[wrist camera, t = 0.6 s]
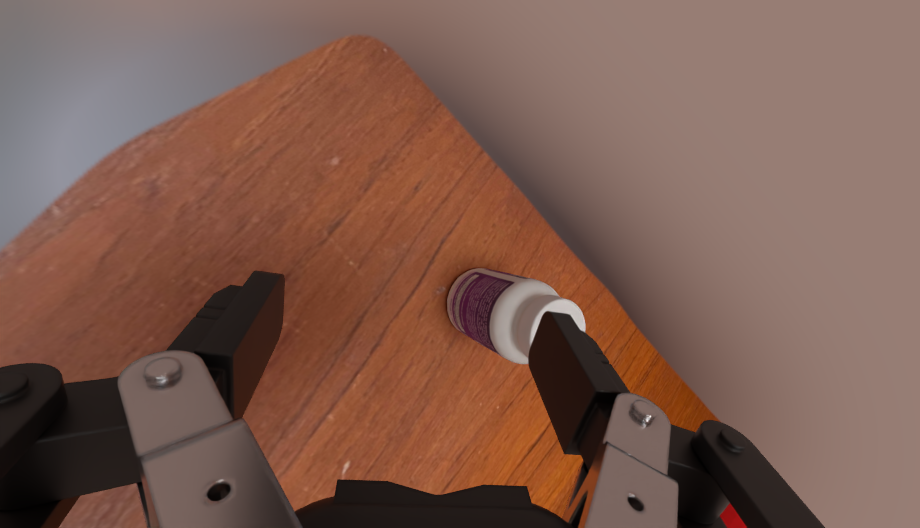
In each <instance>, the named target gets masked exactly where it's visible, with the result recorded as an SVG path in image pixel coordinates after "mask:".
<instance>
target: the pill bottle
mask: <svg viewBox="0 0 920 528" xmlns="http://www.w3.org/2000/svg"><path fill="white" fill-rule="evenodd" d="M447 311H448V315H449V318H450V321H451V323H452V324H453V325H454V327H455V328H456V329H457V330H459V331H460V332H462V333H463V334H465V335H466V336H468V337H470V338H472V339H473V340H475V341H476V342H478V343H480V344H481V345H483V346H485V347H487V348H488V349H490V350H492V351H493V352H495V353H497V354H499V355H500V356H502V357H504V358H505V359H507V360H509V361H512V362H514V363H518V364H529V363H528V355H529V350H530V347H531V344H532V341H533V339H534V336H535V333H536V331H537V328H538V326H539V323H540V320H541V318H542V315H543V314H544V313H545V312H546V311H551V312H558V313H566V314H570V315H571V317H572V318H573V320H574V321H575V323H576V324H577V326H578V327H579V329H580V330H581V331H584V332H585V319H584V316H583V313H582V311H581V310H580V308H579V307H578V306H577V305H576V304H575V303H574V302H572V301H570V300H568V299H564V298H561V297H559V295H558V294H557V293H556V291H555V290H554V289H553V288H552V287H550V286H549V285H547V284H546V283H544V282H541V281H538V280H535V279H531V278H526V277H522V276H518V275H513V274H509V273H504V272H500V271H495V270H490V269H484V268H476V269H472V270H469V271H467V272H465V273H464V274H462V275H461V276H460V277H458V278H457V280H456V281H455V282H454V284H453V285H452V287H451V289H450V292H449V295H448V298H447Z"/></svg>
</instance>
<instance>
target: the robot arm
mask: <svg viewBox="0 0 920 528" xmlns="http://www.w3.org/2000/svg"><path fill="white" fill-rule="evenodd" d="M284 286H285V278H284V275H283V274H278V273H271V272H263V271H254V272H253V273H252V274H251V276H250V277H249V278H248V280H247V281H246V282H245V284H244V285H243V286H235V285H230V286H228V287H226V288H224V289H222V290H220V291H218V292H216V293H214V294H213V296H212V297H211V298H210V299H209V300H208V301H207V303H206V304H205V305H204V308H202V309H201V310H200V311H199V312H198V313H197V314H196V317H194V318H193V319H192V320H191V321H190V323H189V324H188V325H187V326H186V327H185V329H184V330H183V331H182V332H181V333H180V334H179V336H178V337H177V338H176V339H175V340H174V341H173V343H172V344H171V345H170V346H169V347H168V349H167V350H166V351H162V352H157V353H153V354H150V355H147V356H145V357H142V358H140V359H138V360H136V361H134V362H133V363H131V364H130V365H128V366H127V367H126V368H125V369H124V370H123V371H122V372H121V374H120V376H118V377H113V378H107V379H99V380H91V381H82V382H74V383H65V384H64V382H63V378H62V374H61V373H60V371H59V370H58V369H56V368H55V367H52V366H50V365H45V364H37V363H26V364H16V365H10V366H5V367H1V368H0V528H58V527H59V526H60V524H61V523H62V521H63V520H64V518H65V517H66V516H67V514H68V513H69V511H70V510H71V508H72V507H73V505H74V504H75V502H76V501H77V500H78V498H79V497H80V496H81V495H85V494H90V493H94V492H98V491H103V490H107V489H112V488H116V487H121V486H125V485H129V484H134V483H136V487H137V491H138V495H139V499H140V503H141V507H142V510H143V514H144V518H145V522H146V526H147V528H727V526H726V525H725V523H724V522H723V520H722V518H721V517H720V515H721V513H722V512H723V511H724V510H725V508H726V507H727V506H728V505H729V504H730V503H731V505H732V506H733V508H734V509H735V511H736V512H737V514H738V515H739V517H740V518H741V519H742V521H743V522H744V524H745V525H746V527H747V528H825V527H824V526H823V525H822V524H821V522H820V521H819V520H818V519H817V518H816V516H815V515H814V514H813V513H812V512H811V511H810V510H809V509H808V507H807V506H806V505H805V504H804V503H803V501H802V500H801V499H800V498H799V497H798V496H797V494H796V493H795V492H794V491H793V490H792V489H791V487H790V486H789V485H788V484H787V483H786V482H785V480H784V479H783V478H782V477H781V476H780V475H779V473H778V472H777V471H776V470H775V469H774V468H773V467H772V465H771V464H770V463H769V462H768V461H767V460H766V458H765V457H764V456H763V455H762V454H761V453H760V451H759V450H758V449H757V448H756V447H755V446H754V445H753V443H752V442H750V440H748V439H747V438H746V437H745V436H744V435H743V434H741V433H740V432H738V431H737V430H735V429H733V428H732V427H730V426H728V425H726V424H724V423H721V422H718V421H713V420H707V421H704V422H703V423H702V424H701V425H700V427H699V428H698V430H697V431H696V433H695V432H692V431H689V430H686V429H683V428H680V427H677V426H674V425H671V424H670V421H669V419H668V417H667V416H666V415H665V413H664V412H663V411H662V410H661V409H660V408H659V407H658V406H657V405H655V404H654V403H653V402H651V401H650V400H648V399H646V398H644V397H642V396H639V395H636V394H633V393H630V392H629V390H628V389H627V387H626V386H625V384H624V383H623V381H622V380H621V378H620V377H619V375H618V374H617V373H616V371H615V370H614V368H613V367H612V365H611V364H609V361H608V359H607V358H606V356H605V355H603V352H602V351H601V349H600V348H599V346H598V345H597V343H596V342H595V341H594V340H593V339H592V338H591V337H589V336H588V335H587V334H586V333H585V332H584V331H581V330H580V329H579V327H578V326H577V324H576V323H575V321H574V320H573V318H572V317H571V315H570V314H566V313H558V312H551V311H546V312H545V313H544V314H543V315H542V318H541V320H540V323H539V326H538V328H537V331H536V333H535V336H534V339H533V341H532V344H531V347H530V350H529V355H528V363H529V368H530V371H531V373H532V375H533V378H534V380H535V383H536V385H537V388H538V390H539V393H540V395H541V398H542V400H543V403H544V405H545V408H546V410H547V413H548V415H549V417H550V420H551V422H552V425H553V427H554V430H555V432H556V435H557V437H558V440H559V442H560V445H561V447H562V450H563V452H564V454H572V455H581V456H582V458H583V462H582V464H581V465H580V467H579V469H578V472H577V475H576V478H575V481H574V484H573V487H572V490H571V493H570V496H569V499H568V502H567V505H566V507H565V510H564V513H563V516H562V518H560V517H559V516H557V515H556V514H554V513H552V512H550V511H549V510H547V509H545V508H543V507H540V506H538V505H536V504H533V503H531V499H530V496H529V492H528V489H527V486H503V485H481V486H477V487H472V488H468V489H464V490H460V491H456V492H452V493H448V494H443V495H433V494H430V493H426V492H423V491H419V490H416V489H412V488H409V487H406V486H402V485H399V484H395V483H392V482H388V481H366V480H338V479H337V485H336V491H335V496H334V497H330V498H325V499H322V500H319V501H316V502H314V503H311V504H309V505H307V506H305V507H303V508H300V509H298V510H296V511H295V512H294V510H293V508H292V506H291V504H290V503H289V501H288V499H287V497H286V495H285V493H284V491H283V490H282V488H281V486H280V484H279V482H278V480H277V478H276V476H275V475H274V473H273V471H272V469H271V467H270V465H269V463H268V461H267V460H266V458H265V456H264V454H263V452H262V450H261V448H260V446H259V445H258V443H257V441H256V439H255V437H254V435H253V433H252V431H251V430H250V428H249V426H248V424H247V423H246V421H245V420H244V419H243V418H242V417H243V415H244V412H245V410H246V408H247V406H248V404H249V402H250V400H251V398H252V395H253V393H254V391H255V389H256V387H257V385H258V383H259V381H260V378H261V376H262V374H263V372H264V370H265V368H266V366H267V364H268V361H269V359H270V357H271V355H272V353H273V351H274V349H275V347H276V344H277V342H278V340H279V337H280V333H281V329H282V323H283V307H284Z"/></svg>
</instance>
